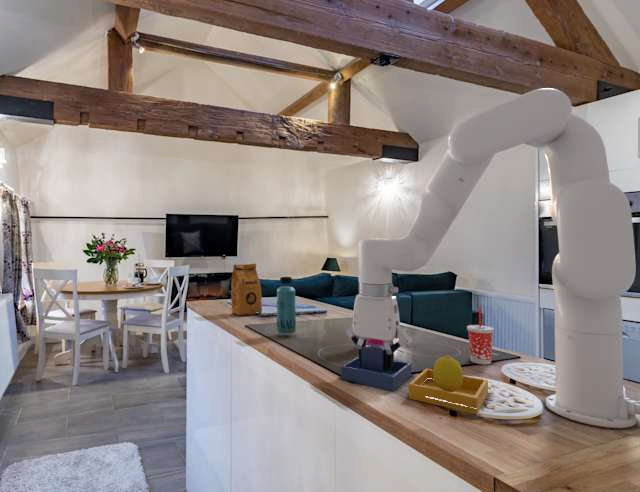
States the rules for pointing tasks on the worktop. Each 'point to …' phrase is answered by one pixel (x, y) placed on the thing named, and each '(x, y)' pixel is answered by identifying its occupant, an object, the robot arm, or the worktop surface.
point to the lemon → (448, 374)
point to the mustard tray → (465, 395)
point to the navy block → (373, 357)
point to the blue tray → (376, 374)
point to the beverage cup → (480, 342)
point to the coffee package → (245, 290)
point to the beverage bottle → (286, 307)
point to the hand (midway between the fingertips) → (375, 366)
